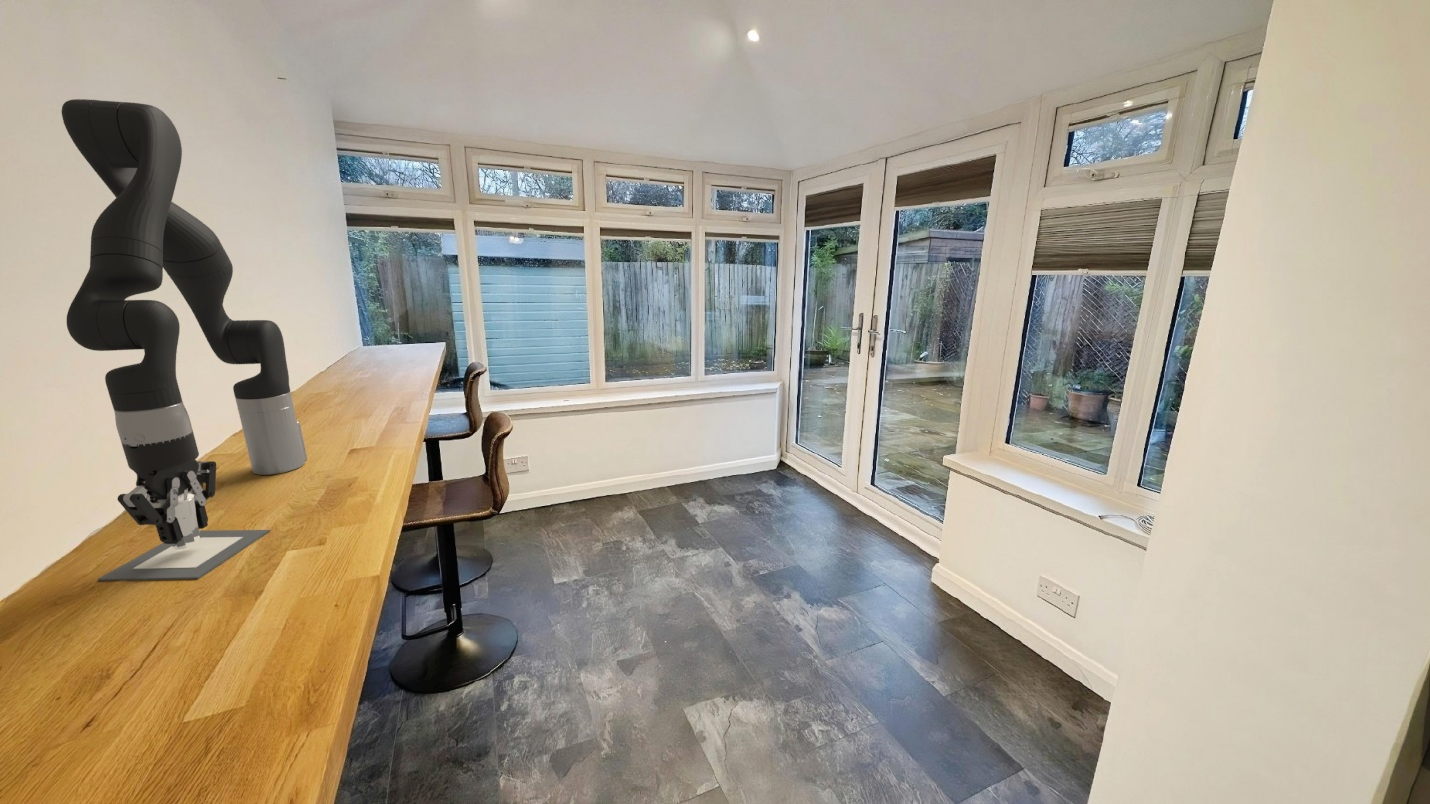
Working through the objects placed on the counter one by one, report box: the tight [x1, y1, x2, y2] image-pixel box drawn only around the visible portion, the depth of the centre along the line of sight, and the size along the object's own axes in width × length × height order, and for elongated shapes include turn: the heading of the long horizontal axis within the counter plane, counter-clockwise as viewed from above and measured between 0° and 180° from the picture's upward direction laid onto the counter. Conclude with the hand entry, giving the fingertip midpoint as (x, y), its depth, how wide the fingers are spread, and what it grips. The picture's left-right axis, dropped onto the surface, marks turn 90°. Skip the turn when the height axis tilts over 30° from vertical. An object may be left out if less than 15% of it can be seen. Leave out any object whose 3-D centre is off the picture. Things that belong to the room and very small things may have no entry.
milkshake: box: [157, 489, 201, 550], centre depth 82 cm, size 5×5×10 cm
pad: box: [97, 529, 271, 582], centre depth 83 cm, size 14×14×1 cm
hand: (186, 534), depth 83 cm, fingers closed on milkshake, 4 cm apart
